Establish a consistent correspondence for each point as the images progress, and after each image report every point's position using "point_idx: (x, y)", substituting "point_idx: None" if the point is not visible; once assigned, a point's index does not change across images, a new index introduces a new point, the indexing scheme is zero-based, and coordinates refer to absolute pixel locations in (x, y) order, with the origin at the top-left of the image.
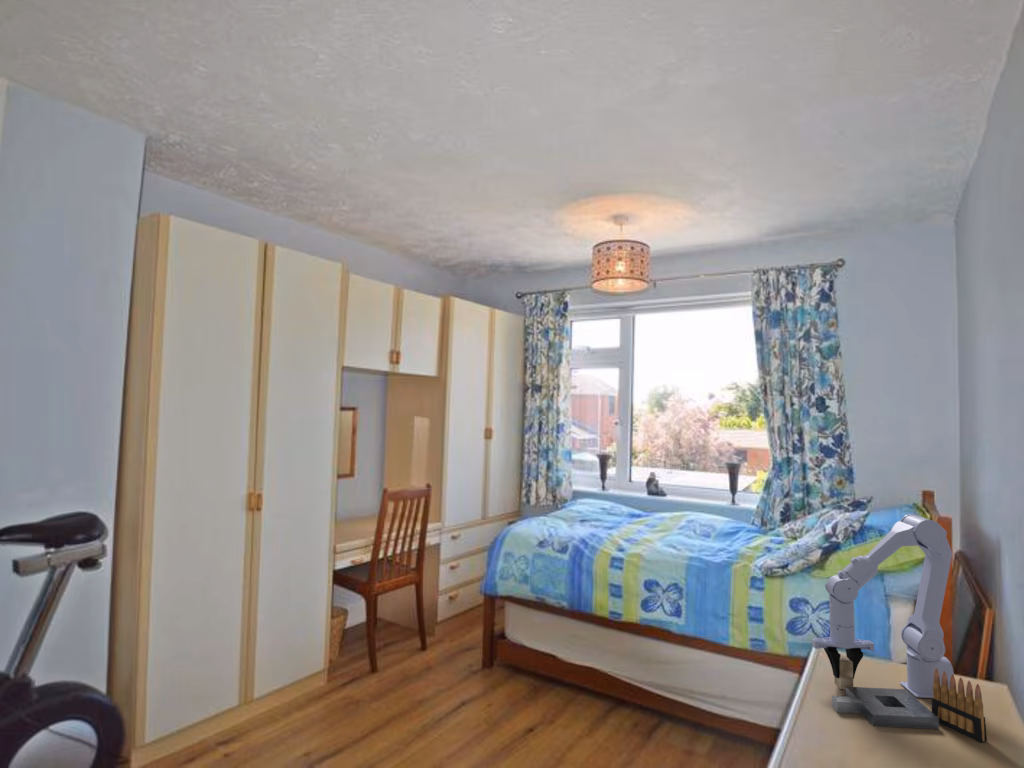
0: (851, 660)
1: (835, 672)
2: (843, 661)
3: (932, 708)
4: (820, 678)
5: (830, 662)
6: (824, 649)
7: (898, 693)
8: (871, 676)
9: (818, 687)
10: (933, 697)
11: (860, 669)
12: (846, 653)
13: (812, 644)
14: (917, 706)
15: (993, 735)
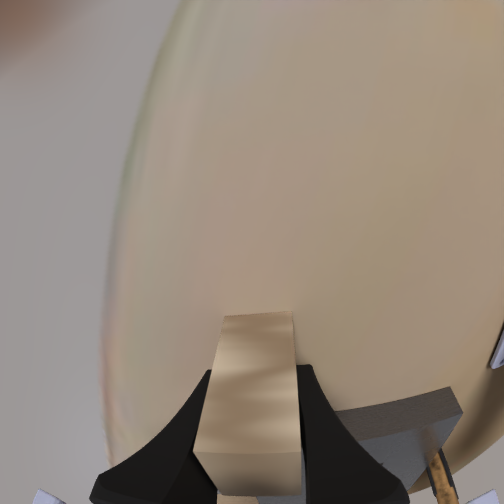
0: (306, 486)
1: None
2: (243, 493)
3: (428, 475)
4: (157, 275)
5: (174, 421)
6: (108, 477)
7: (415, 445)
8: (466, 189)
9: (145, 365)
10: (436, 496)
11: (446, 89)
12: (308, 471)
13: (38, 497)
14: (404, 477)
15: (477, 448)
